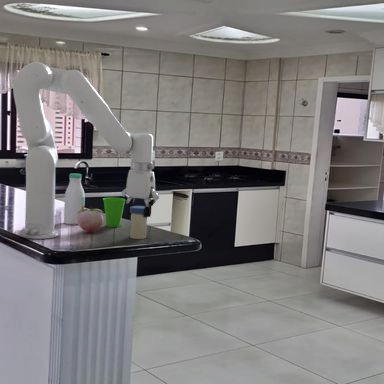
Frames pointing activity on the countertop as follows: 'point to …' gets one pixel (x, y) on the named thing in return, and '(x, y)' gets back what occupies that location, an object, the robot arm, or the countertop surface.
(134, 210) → the jar lid
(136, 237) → the jar
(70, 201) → the milk bottle
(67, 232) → the countertop surface
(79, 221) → the decorative fruit
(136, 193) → the robot arm
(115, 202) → the cup
